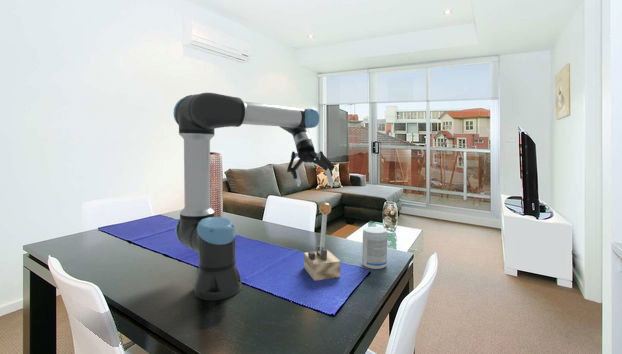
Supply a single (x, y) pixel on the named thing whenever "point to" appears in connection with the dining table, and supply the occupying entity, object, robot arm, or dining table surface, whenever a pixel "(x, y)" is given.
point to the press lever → (323, 224)
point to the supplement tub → (374, 247)
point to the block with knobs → (321, 264)
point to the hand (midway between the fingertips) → (315, 183)
